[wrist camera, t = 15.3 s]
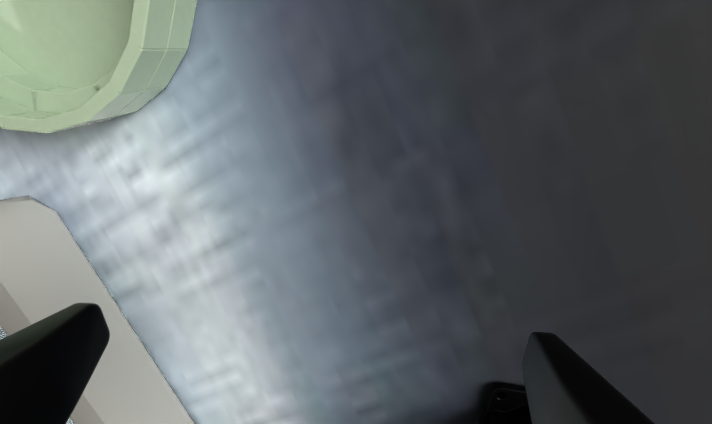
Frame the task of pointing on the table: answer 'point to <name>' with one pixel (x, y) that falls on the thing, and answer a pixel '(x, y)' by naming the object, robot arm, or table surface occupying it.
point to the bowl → (86, 58)
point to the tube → (64, 288)
